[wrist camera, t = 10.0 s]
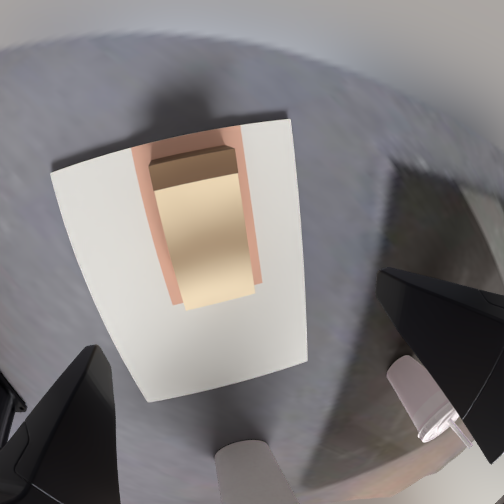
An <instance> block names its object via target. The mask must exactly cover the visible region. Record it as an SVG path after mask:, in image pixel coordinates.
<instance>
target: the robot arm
mask: <svg viewBox="0 0 504 504" xmlns="http://www.w3.org/2000/svg"><path fill="white" fill-rule="evenodd" d="M375 293H376V297H377V299H378V300H379V302H380V304H381V305H382V307H383V308H384V310H385V311H386V313H387V315H388V316H389V318H390V319H391V321H392V323H393V324H394V326H395V327H396V329H397V330H398V332H399V333H400V335H401V336H402V337H403V339H404V340H405V341H406V342H407V344H408V345H409V346H410V348H411V349H412V350H413V352H414V353H415V354H416V356H417V357H418V358H419V360H420V361H421V362H422V364H423V365H424V366H425V368H426V369H427V371H428V372H429V373H430V375H431V376H432V377H433V379H434V380H435V382H436V383H437V384H438V386H439V387H440V389H441V390H442V392H443V393H444V394H445V396H446V397H447V399H448V400H449V402H450V403H451V404H452V406H453V407H454V409H455V410H456V412H457V413H458V415H459V416H460V418H461V419H462V420H463V422H464V424H465V425H466V427H467V428H468V430H469V432H470V433H471V435H472V436H473V438H474V439H475V441H476V442H477V444H478V445H479V447H480V449H481V450H482V452H483V453H484V455H485V457H486V458H487V460H488V462H489V463H490V464H493V463H494V462H495V461H496V460H497V459H498V458H499V457H500V456H501V455H502V454H503V453H504V295H499V294H495V293H491V292H487V291H483V290H478V289H475V288H471V287H467V286H463V285H459V284H456V283H452V282H448V281H444V280H440V279H436V278H432V277H428V276H424V275H419V274H415V273H411V272H407V271H403V270H399V269H395V268H391V267H387V268H384V269H381V270H379V271H378V272H377V278H376V289H375ZM26 410H27V406H26V405H25V404H24V402H23V401H22V400H21V399H20V398H19V396H18V395H17V394H16V393H15V391H14V390H13V389H12V388H11V386H10V385H9V384H8V382H7V381H6V380H5V379H4V377H3V376H2V374H1V373H0V504H121V503H120V493H119V483H118V470H117V452H116V416H115V403H114V394H113V383H112V371H111V366H110V364H109V362H108V360H107V358H106V357H105V355H104V353H103V351H102V349H101V348H100V346H99V345H97V344H95V345H90V346H86V347H85V348H84V349H83V350H82V351H81V352H80V353H79V355H78V356H77V357H76V358H75V359H74V360H73V362H72V363H71V364H70V365H69V366H68V368H67V369H66V370H65V371H64V372H63V373H62V375H61V376H60V377H59V378H58V379H57V381H56V382H55V383H54V384H53V386H52V387H51V388H50V389H49V390H48V392H47V393H46V394H45V395H44V397H43V398H42V399H41V400H40V402H39V403H38V404H37V405H36V407H35V408H34V409H33V410H32V412H31V413H30V414H29V415H28V417H27V418H26V419H25V421H24V422H23V423H22V424H21V426H20V427H19V428H18V430H17V431H16V432H15V434H14V435H13V436H12V437H11V439H10V440H9V441H8V437H9V433H10V429H11V425H12V422H13V418H14V414H15V412H26ZM7 441H8V442H7ZM495 504H504V495H503V496H502V498H500V499H499V500H498V501H497V502H496V503H495Z"/></svg>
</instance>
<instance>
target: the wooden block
mask: <svg viewBox="0 0 504 504" xmlns="http://www.w3.org/2000/svg"><path fill="white" fill-rule="evenodd" d="M148 168H149V172H150V177H151V182H152V186H153V191H154V192H155V197H156V201H157V205H158V210H159V214H160V218H161V222H162V226H163V230H164V234H165V238H166V242H167V246H168V250H169V254H170V257H171V261H172V265H173V268H174V272H175V275H176V279H177V282H178V286H179V289H180V293H181V296H182V300H183V303H184V306H185V309H186V311H187V310H191V309H196V308H200V307H204V306H208V305H212V304H216V303H220V302H224V301H228V300H232V299H236V298H240V297H244V296H248V295H251V294H255V288H254V281H253V274H252V267H251V260H250V254H249V247H248V240H247V233H246V226H245V220H244V213H243V206H242V199H241V192H240V185H239V178H238V167H237V160H236V153H235V148H232V147H230V146H227V145H221V146H216V147H210V148H205V149H200V150H195V151H190V152H185V153H180V154H176V155H171V156H167V157H162V158H158V159H154V160H151V162H150V164H149V166H148Z"/></svg>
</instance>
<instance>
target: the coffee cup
mask: <svg viewBox="0 0 504 504" xmlns="http://www.w3.org/2000/svg"><path fill="white" fill-rule="evenodd" d="M215 465H216V471H217V478H218V484H219V490H220V496H221V502H222V504H300V503H299V502H298V500H297V498H296V496H295V495H294V493H293V491H292V489H291V487H290V486H289V484H288V482H287V480H286V478H285V476H284V475H283V473H282V471H281V469H280V467H279V465H278V463H277V461H276V460H275V458H274V456H273V454H272V452H271V450H270V448H269V446H268V444H267V443H265V442H263V441H259V440H246V441H240V442H236V443H233V444H230V445H227V446H225V447H223V448H222V449H220V450H219V451H218V452H217V453H216V454H215Z"/></svg>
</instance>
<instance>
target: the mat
mask: <svg viewBox="0 0 504 504" xmlns="http://www.w3.org/2000/svg"><path fill="white" fill-rule="evenodd" d="M221 145H227V146H230V147H232V148H235V153H236V160H237V167H238V178H239V185H240V192H241V199H242V206H243V213H244V220H245V226H246V233H247V240H248V247H249V254H250V260H251V267H252V274H253V281H254V288H255V294H251V295H248V296H244V297H240V298H236V299H232V300H228V301H224V302H220V303H216V304H212V305H208V306H204V307H200V308H196V309H191V310H187V311H186V309H185V306H184V303H183V300H182V296H181V293H180V289H179V286H178V282H177V279H176V275H175V272H174V268H173V265H172V261H171V257H170V254H169V250H168V246H167V242H166V238H165V234H164V230H163V226H162V222H161V218H160V214H159V210H158V205H157V201H156V197H155V192H154V191H153V186H152V182H151V177H150V172H149V168H148V166H149V164H150V162H151V160H154V159H158V158H162V157H167V156H171V155H176V154H180V153H185V152H190V151H195V150H200V149H205V148H210V147H216V146H221ZM50 175H51V179H52V183H53V186H54V190H55V194H56V197H57V201H58V204H59V208H60V211H61V214H62V218H63V221H64V224H65V227H66V230H67V233H68V236H69V239H70V242H71V245H72V247H73V250H74V253H75V256H76V258H77V261H78V264H79V266H80V269H81V271H82V274H83V276H84V279H85V281H86V284H87V286H88V288H89V291H90V293H91V295H92V298H93V300H94V302H95V305H96V307H97V309H98V311H99V313H100V316H101V318H102V320H103V322H104V324H105V326H106V328H107V330H108V332H109V334H110V336H111V338H112V340H113V342H114V344H115V346H116V348H117V350H118V352H119V354H120V355H121V357H122V359H123V361H124V363H125V365H126V366H127V368H128V370H129V372H130V374H131V375H132V377H133V379H134V380H135V382H136V384H137V386H138V387H139V389H140V391H141V392H142V394H143V396H144V397H145V399H146V400H147V402H154V401H159V400H165V399H170V398H175V397H180V396H184V395H189V394H193V393H198V392H202V391H206V390H211V389H215V388H219V387H223V386H227V385H230V384H234V383H238V382H242V381H245V380H249V379H252V378H256V377H259V376H262V375H266V374H269V373H272V372H276V371H279V370H282V369H285V368H288V367H291V366H294V365H297V364H300V363H303V362H306V361H307V325H306V301H305V280H304V263H303V247H302V233H301V220H300V207H299V195H298V184H297V174H296V164H295V154H294V145H293V136H292V127H291V119H283V120H274V121H265V122H257V123H250V124H243V125H236V126H230V127H224V128H218V129H212V130H207V131H201V132H196V133H191V134H186V135H181V136H177V137H172V138H168V139H163V140H159V141H155V142H151V143H146V144H142V145H139V146H135V147H131V148H127V149H124V150H120V151H116V152H113V153H109V154H106V155H103V156H99V157H96V158H93V159H90V160H87V161H83V162H80V163H77V164H74V165H71V166H68V167H66V168H63V169H60V170H57V171H54V172H52V173H50Z"/></svg>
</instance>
